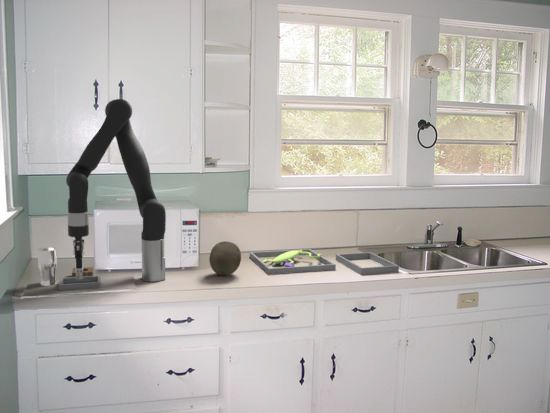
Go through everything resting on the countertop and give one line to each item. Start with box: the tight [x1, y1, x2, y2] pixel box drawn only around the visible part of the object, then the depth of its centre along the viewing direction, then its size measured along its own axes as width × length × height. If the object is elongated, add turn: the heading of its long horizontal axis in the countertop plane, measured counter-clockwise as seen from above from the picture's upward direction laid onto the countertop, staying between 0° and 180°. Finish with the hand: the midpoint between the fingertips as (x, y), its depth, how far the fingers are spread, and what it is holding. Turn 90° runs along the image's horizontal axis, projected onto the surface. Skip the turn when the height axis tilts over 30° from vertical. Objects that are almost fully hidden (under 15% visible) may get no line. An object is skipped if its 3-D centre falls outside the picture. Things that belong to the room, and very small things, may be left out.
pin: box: [72, 249, 86, 279], centre depth 204 cm, size 4×4×11 cm
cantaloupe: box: [208, 241, 242, 277], centre depth 225 cm, size 14×14×15 cm
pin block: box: [71, 266, 94, 277], centre depth 217 cm, size 8×8×4 cm
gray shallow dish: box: [335, 251, 400, 276], centre depth 247 cm, size 19×27×3 cm
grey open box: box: [249, 248, 337, 275], centre depth 250 cm, size 32×32×2 cm
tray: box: [58, 275, 102, 291], centre depth 206 cm, size 15×10×3 cm, turn 108°
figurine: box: [262, 249, 323, 267], centre depth 250 cm, size 18×27×6 cm
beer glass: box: [37, 246, 58, 287], centre depth 206 cm, size 7×7×15 cm
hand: (79, 266), depth 205 cm, fingers closed on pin, 2 cm apart
